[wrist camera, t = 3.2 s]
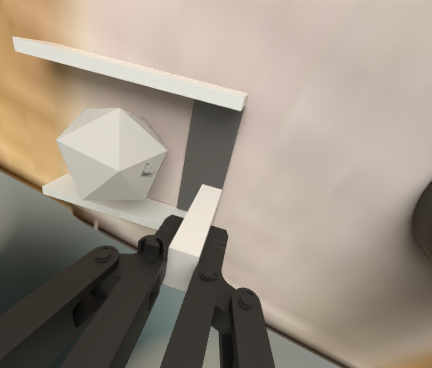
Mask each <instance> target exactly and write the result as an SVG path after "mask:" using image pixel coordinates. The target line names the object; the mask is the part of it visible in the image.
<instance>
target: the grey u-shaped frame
mask: <svg viewBox="0 0 432 368" xmlns="http://www.w3.org/2000/svg"><path fill="white" fill-rule="evenodd" d="M13 42H14V47H15V51H17V52H21V53H25V54H29V55H32V56H36V57H40V58H44V59H47V60H51V61H55V62H58V63H62V64H66V65H70V66H73V67H77V68H81V69H85V70H88V71H92V72H96V73H100V74H103V75H107V76H111V77H115V78H118V79H122V80H126V81H130V82H133V83H137V84H141V85H145V86H148V87H152V88H156V89H160V90H163V91H167V92H171V93H175V94H178V95H182V96H186V97H190V98H193V99H195V101H194V107H193V113H192V119H191V125H190V132H189V138H188V144H187V150H186V156H185V163H184V169H183V175H182V181H181V187H180V193H179V200H178V206H177V207H174V206H171V205H168V204H164V203H161V202H158V201H155V200H151V199H148V198H146V199H145V200H81V198H80V196H79V194H78V191H77V189H76V186H75V184H74V182H73V179H72V177H71V175H70V174H66V175H64V176H62V177H60V178H58V179H56V180H54V181H52V182H50V183H48V184H46V185H44V186H42V189H43V194H45V195H48V196H52V197H55V198H58V199H61V200H64V201H67V202H70V203H74V204H77V205H80V206H83V207H86V208H89V209H92V210H95V211H99V212H102V213H105V214H108V215H111V216H114V217H117V218H121V219H124V220H127V221H130V222H133V223H136V224H139V225H143V226H146V227H149V228H152V229H155V230H159V227H160V226H161V225H162V223H163V221H164V220H165V218H167V217H168V216H170V215H172V214H173V215H176V216H179V217H183V218H185V216H186V214H187V212H188V210H189V209H190V207H191V205H192V203H193V201H194V199H195V197H196V195H197V194H198V192H199V190H200V188H201V186H202V184H204V185H207V186H211V187H214V188H218V189H221V190H222V188H223V184H224V180H225V177H226V173H227V169H228V166H229V162H230V158H231V154H232V151H233V147H234V143H235V140H236V136H237V132H238V129H239V125H240V121H241V118H242V114H243V110H244V106H245V103H246V99H247V95H248V93H244V92H240V91H236V90H233V89H229V88H225V87H221V86H217V85H213V84H209V83H206V82H202V81H198V80H194V79H190V78H186V77H183V76H179V75H175V74H171V73H167V72H163V71H160V70H156V69H152V68H148V67H144V66H140V65H136V64H133V63H129V62H125V61H121V60H117V59H113V58H110V57H106V56H102V55H98V54H94V53H90V52H87V51H83V50H79V49H75V48H71V47H67V46H63V45H60V44H56V43H52V42H46V41H39V40H33V39H26V38H19V37H13ZM212 225H213V224H212Z"/></svg>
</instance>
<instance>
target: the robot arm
mask: <svg viewBox="0 0 432 368" xmlns="http://www.w3.org/2000/svg"><path fill="white" fill-rule="evenodd" d="M221 192H222V190H221V189H218V188H214V187H211V186H207V185H204V184H202V186H201V188H200V190H199V192H198V194H197V195H196V197H195V199H194V201H193V203H192V205H191V207H190V209H189V210H188V212H187V214H186V216H185V218H183V217H179V216H176V215H173V214H172V215H170V216H168V217H167V218H165V220H164V221H163V223H162V225H161V226H160V227H159V230H158V231H157V232H156V234H155V235H147V236H145V237H142V238H141V239H140V240H139V241H138V253H135V254H119V252H118V250H117V249H116V248H115V247H112V246H100V247H97V248H95V249H94V250H92V251H90V252H89V253H88V254H86V255H85V256H83V257H82V258H81V259H79V260H78V261H76V262H75V263H74V264H72V265H71V266H69V267H68V268H67V269H65V270H64V271H62V272H61V273H60V274H58V275H57V276H55V277H54V278H52V279H51V280H50V281H48V282H47V283H45V284H44V285H43V286H41V287H40V288H38V289H37V290H36V291H34V292H33V293H31V294H30V295H29V296H27V297H26V298H24V299H23V300H22V301H20V302H19V303H17V304H16V305H15V306H13V307H12V308H10V309H9V310H8V311H6V312H5V313H3V314H2V315H0V368H47V366H49V364H50V363H51V362H52V361H53V360H54V359H55V358H56V357H57V356H58V355H59V354H60V353H61V352H62V351H63V350H64V349H65V348H66V347H67V346H68V345H69V344H70V343H71V342H72V341H73V340H74V339H75V338H76V337H77V336H78V335H79V334H80V333H81V332H82V331H83V330H84V329H85V328H86V327H87V326H88V327H87V328H86V330H85V331H84V333H83V334H82V336H81V337H80V339H79V340H78V342H77V343H76V344H75V346H74V347H73V349H72V350H71V352H70V353H69V355H68V356H67V358H66V359H65V361H64V362H63V363H62V365H61V366H60V368H125V366H126V364H127V362H128V360H129V357H130V355H131V353H132V351H133V349H134V347H135V344H136V342H137V340H138V338H139V336H140V334H141V332H142V329H143V327H144V325H145V323H146V321H147V318H148V316H149V314H150V312H151V310H152V307H153V305H154V303H155V301H156V299H157V297H158V295H159V291H160V286H161V284H162V282H163V284H164V285H168V286H170V287H174V288H177V289H179V290H183V291H186V295H185V297H184V300H183V303H182V306H181V309H180V312H179V315H178V318H177V320H176V323H175V326H174V329H173V332H172V335H171V338H170V341H169V343H168V346H167V349H166V352H165V355H164V358H163V360H162V363H161V367H160V368H202V366H203V360H204V356H205V351H206V346H207V341H208V337H209V332H210V327H211V326H212V327H214V328H215V329H216V330H217V331H219V349H220V368H275V365H274V360H273V356H272V352H271V347H270V343H269V339H268V334H267V330H266V325H265V321H264V316H263V312H262V307H261V303H260V300H259V298H258V296H257V295H256V294H255V293H254V292H253V291H251V290H250V289H247V288H238V289H237V290H236V289H235V288H233V287H232V286H230V285H229V284H228V283H227V282H226V281H225V280H224V278H223V276H222V272H221V270H222V264H223V259H224V254H225V249H226V245H227V240H228V234H227V231H226V230H224V229H221V228H218V227H214V226H212V224H213V221H214V218H215V215H216V211H217V207H218V204H219V200H220V196H221ZM413 229H414V235H415V238H416V241H417V243H418V245H419V246H420V248H421V249H422V250H423V251H424V253H425V254H426V255H427V256H428V257H429V258H430V259H431V260H432V183H431V185H430V186H429V187H428V188H427V190H426V191H425V193H424V194H423V196H422V197H421V199H420V201H419V203H418V205H417V208H416V211H415V215H414V220H413ZM163 280H164V281H163Z"/></svg>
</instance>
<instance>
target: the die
mask: <svg viewBox="0 0 432 368" xmlns="http://www.w3.org/2000/svg"><path fill="white" fill-rule="evenodd" d="M56 141H57V144H58V146H59V149H60V151H61V153H62V156H63V158H64V160H65V163H66V165H67V168H68V170H69V172H70V175H71V177H72V179H73V182H74V184H75V186H76V189H77V191H78V194H79V196H80V198H81V200H145V199H146V197H147V194H148V192H149V190H150V188H151V186H152V184H153V181H154V179H155V177H156V175H157V173H158V170H159V168H160V166H161V164H162V162H163V159H164V157H165V155H166V153H167V151H168V150H167V149H166V148H165V146H164V145H163V144H162V142H161V141H160V140H159V138H158V137H157V135H156V134H155V133H154V131H153V130H152V129H151V127H150V126H149V125H148V123H147V122H146V121H145V119H144V118H142V117H140V116H137V115H135V114H133V113H130V112H128V111H126V110H124V109H121V108H102V109H85V110H84V111H83V112H82V113H81V114H80V115H79V116H78V117H77V118H76V119H75V120H74V121H73V122H72V124H71V125H70V126H69V127H68V128H67V129H66V130H65V131H64V132H63V133H62V134H61V135H60V136H59V137H58V138H57V139H56Z"/></svg>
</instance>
